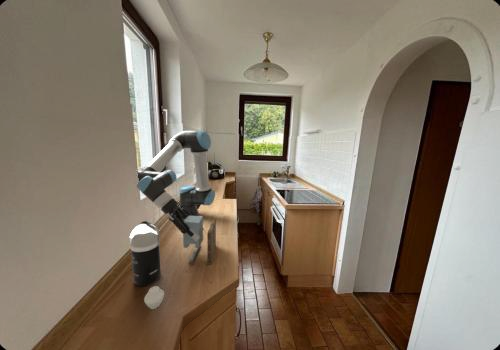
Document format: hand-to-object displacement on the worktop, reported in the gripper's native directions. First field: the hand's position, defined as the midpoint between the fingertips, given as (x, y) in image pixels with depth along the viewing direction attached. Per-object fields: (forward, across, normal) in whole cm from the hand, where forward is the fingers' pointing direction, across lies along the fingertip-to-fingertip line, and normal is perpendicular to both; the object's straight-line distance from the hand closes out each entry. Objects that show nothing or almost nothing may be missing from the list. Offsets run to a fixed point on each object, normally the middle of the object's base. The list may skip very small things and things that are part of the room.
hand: (200, 234), depth 91 cm
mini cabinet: (+1, 0, -6) cm, 6 cm away
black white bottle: (-5, +16, -21) cm, 27 cm away
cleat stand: (+9, -1, -7) cm, 11 cm away
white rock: (+2, +29, -14) cm, 33 cm away
